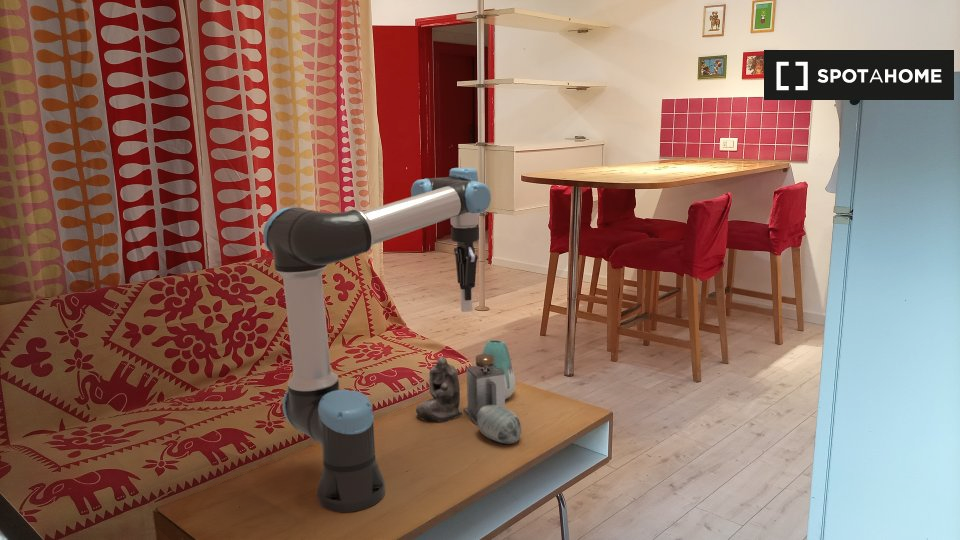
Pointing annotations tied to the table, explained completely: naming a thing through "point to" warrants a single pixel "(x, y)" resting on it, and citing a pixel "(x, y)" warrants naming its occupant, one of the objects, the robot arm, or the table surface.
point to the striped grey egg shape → (499, 424)
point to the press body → (484, 389)
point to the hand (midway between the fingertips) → (466, 310)
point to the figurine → (441, 394)
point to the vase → (502, 363)
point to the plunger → (484, 361)
